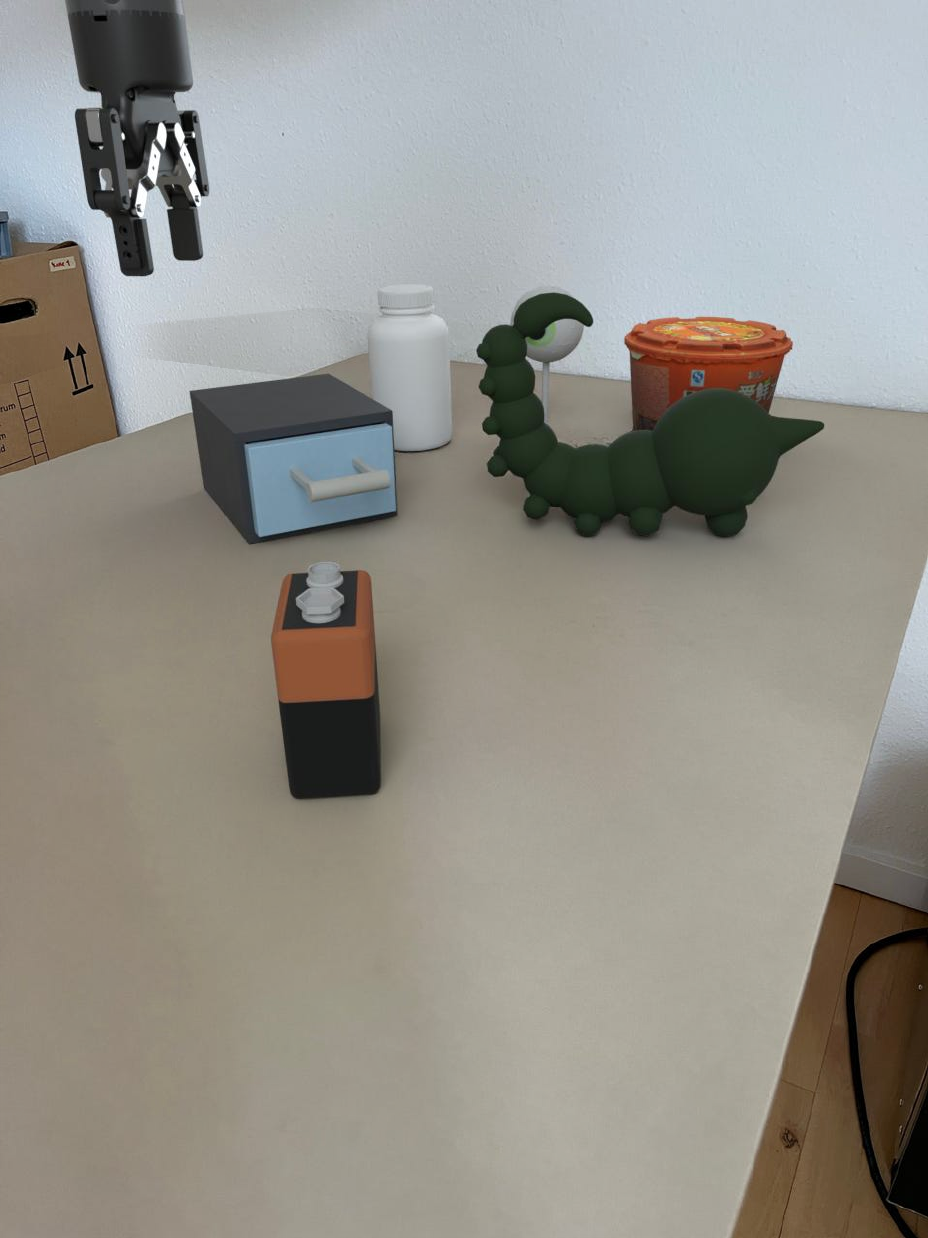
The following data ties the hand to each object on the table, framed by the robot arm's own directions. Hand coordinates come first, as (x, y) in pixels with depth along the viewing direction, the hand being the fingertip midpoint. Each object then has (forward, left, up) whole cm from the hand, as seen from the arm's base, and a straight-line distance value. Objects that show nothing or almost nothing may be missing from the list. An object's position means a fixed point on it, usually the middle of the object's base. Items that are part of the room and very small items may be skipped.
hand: (164, 267), depth 70 cm
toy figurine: (+30, -21, -20) cm, 41 cm away
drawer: (+8, -6, -18) cm, 21 cm away
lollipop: (+36, +3, -20) cm, 41 cm away
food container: (+50, -4, -20) cm, 54 cm away
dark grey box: (+8, -2, -19) cm, 21 cm away
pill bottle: (+24, +9, -20) cm, 32 cm away
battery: (-2, -39, -20) cm, 43 cm away
